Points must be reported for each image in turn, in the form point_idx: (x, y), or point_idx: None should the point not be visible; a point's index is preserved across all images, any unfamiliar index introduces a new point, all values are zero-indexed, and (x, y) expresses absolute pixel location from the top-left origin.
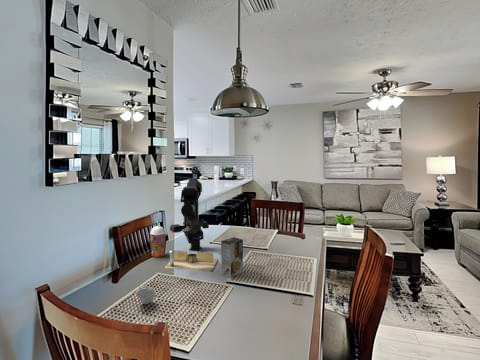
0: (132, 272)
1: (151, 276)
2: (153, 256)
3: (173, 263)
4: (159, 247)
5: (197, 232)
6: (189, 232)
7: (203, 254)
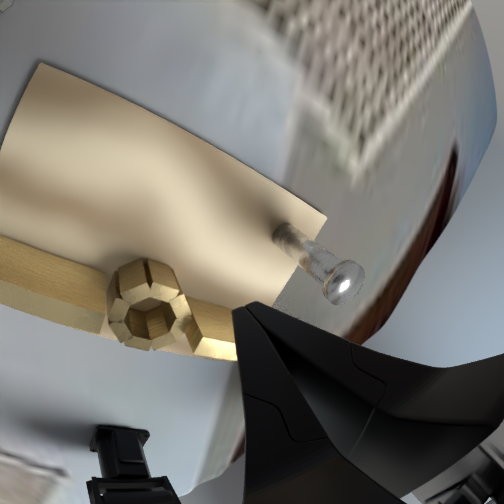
0: (414, 217)
1: (386, 140)
2: None
3: (288, 232)
4: None
5: None
6: (474, 395)
7: (53, 290)
